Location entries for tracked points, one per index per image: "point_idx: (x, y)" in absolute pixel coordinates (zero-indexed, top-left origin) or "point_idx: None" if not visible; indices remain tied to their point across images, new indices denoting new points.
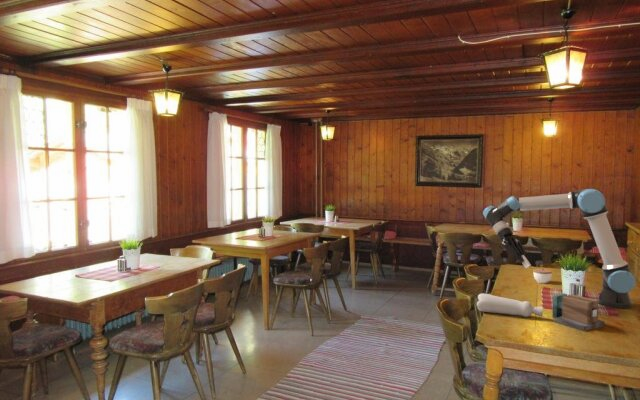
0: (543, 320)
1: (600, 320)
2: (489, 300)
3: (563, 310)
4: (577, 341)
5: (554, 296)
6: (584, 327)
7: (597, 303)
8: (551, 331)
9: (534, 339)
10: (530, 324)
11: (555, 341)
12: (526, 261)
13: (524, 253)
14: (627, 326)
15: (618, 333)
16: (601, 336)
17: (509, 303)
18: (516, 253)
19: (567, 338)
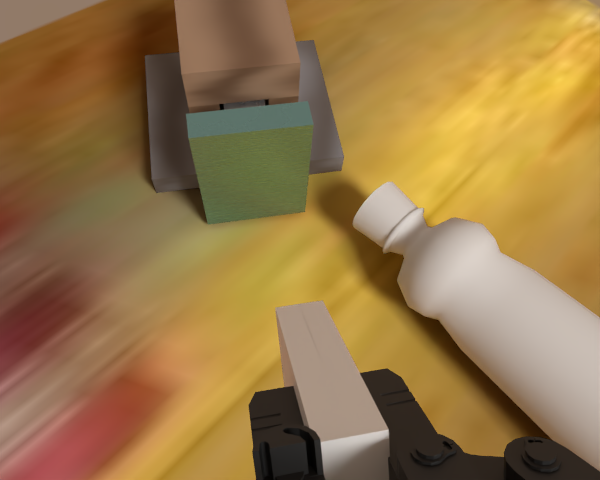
0: None
1: (152, 67)
2: None
3: None
4: (432, 3)
5: (310, 120)
6: (308, 43)
7: None
8: (454, 94)
9: (588, 59)
10: (491, 186)
11: (516, 25)
12: (340, 337)
13: (294, 436)
14: (65, 36)
15: None
16: (295, 5)
17: (572, 299)
18: (573, 460)
19: (446, 29)
